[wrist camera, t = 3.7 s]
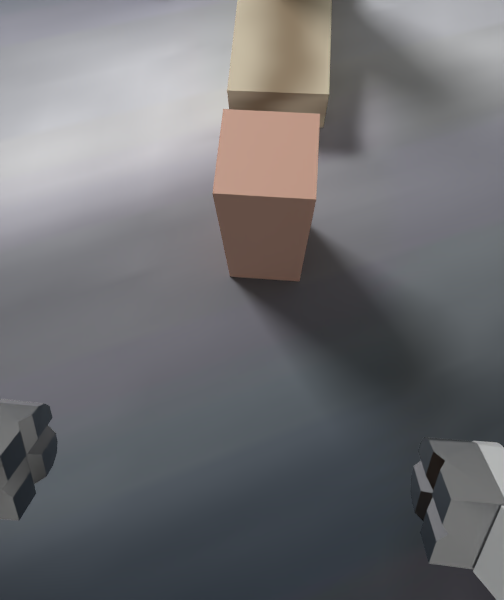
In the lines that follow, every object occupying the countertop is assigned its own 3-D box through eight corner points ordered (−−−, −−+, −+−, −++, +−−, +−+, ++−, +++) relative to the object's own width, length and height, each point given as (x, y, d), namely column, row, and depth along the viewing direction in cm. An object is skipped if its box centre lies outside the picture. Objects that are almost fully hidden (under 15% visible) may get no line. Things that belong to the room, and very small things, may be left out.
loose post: (230, 276, 26) (212, 193, 17) (236, 215, 27) (223, 109, 19) (299, 281, 26) (316, 199, 17) (302, 219, 27) (319, 113, 18)
